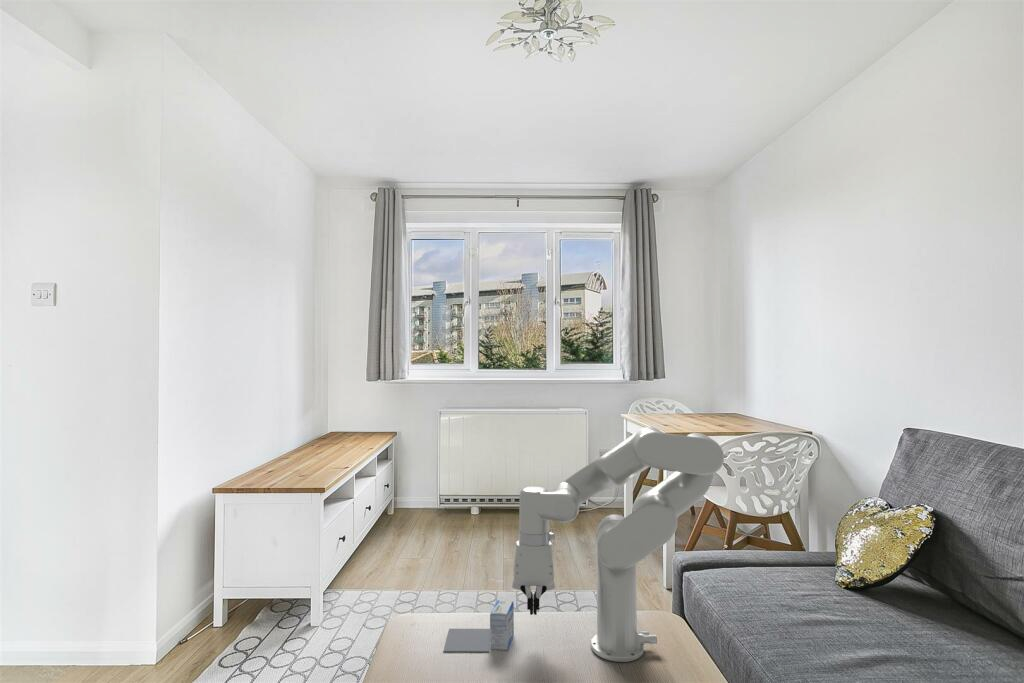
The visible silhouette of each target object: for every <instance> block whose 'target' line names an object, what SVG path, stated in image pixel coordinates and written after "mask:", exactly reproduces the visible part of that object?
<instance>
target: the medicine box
mask: <svg viewBox="0 0 1024 683" xmlns="http://www.w3.org/2000/svg"><path fill="white" fill-rule="evenodd" d="M514 611H515V610H514V601H513V600H508V599H507V600H506V599H498V600H496V603H495V604H494V606H493V607H492V610H491V611H490V614H489V629H490V649H492V650H499V651H508V650H509V647H510V645H511V643H512V639H513V638H514V634H515V633H514V632H515V621H514V620H515V618H514V615H515V614H514V613H515V612H514Z"/></svg>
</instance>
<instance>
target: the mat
mask: <svg viewBox="0 0 1024 683" xmlns="http://www.w3.org/2000/svg"><path fill="white" fill-rule="evenodd" d="M490 649H491V648H490V628H448V632H447V635H446V639H445V643H444V647H443V650H442V651H443V652H442V653H490Z"/></svg>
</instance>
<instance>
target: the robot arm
mask: <svg viewBox="0 0 1024 683" xmlns="http://www.w3.org/2000/svg"><path fill="white" fill-rule="evenodd" d="M724 461H725V454H724V451H723V449H722V447H721V445H720V444H719V443H718V442H717V441H716V440H715V439H713V438H711V437H710V436H708V435H706V434H704V433H701V432H692V433H689V434H687V435H681V434H673V433H668V432H663V431H661V430H660V429H659V428H656V427H653V426H645V427H642V428H641V429H638V430H637V431H635V432H634V433H633V434H631V435H630V436H628V437H627V438H626V439H624V440H623V441H621V442H620V443H618V444H617V445H616V446H614V447H612V448H611V449H610V450H608V451H607V452H606V453H604V454H603V455H601V456H600V457H598V458H597V459H595V460H593V461H592V462H591V463H589V464H587V465H586V466H584V467H582V468H581V469H579V470H577V471H576V472H574V473H573V474H572V475H571V476H569V477H567V479H565V480H563V481H562V482H561V483H559V484H558V485H557V486H556V487H554V489H553V491H549V490H548V489H547V488H546V487H543V486H542V487H541V486H526V487H523V488H522V489H521V490H520V492H519V503H518V504H519V509H518V510H519V511H518V512H519V514H518V515H519V519H518V520H519V521H518V524H519V525H518V540H517V541H516V542H515V545H514V554H513V569H512V575H513V580H512V586H511V588H512V589H514V590H518V591H521V592H522V593H523V594H524V595H525V596H526V598H527V602H526V604H527V605H526V606H527V607H526V609H527V610H528V611H529V614H530V616H533V615H534V616H537V614H538V613H537V612H538V611H540V598H541V596H542V595H544V593H546V591H552V590H555V589H556V584H555V564H554V550H553V544H552V541H551V540H555V538H556V536H555V535H556V534H555V532H551V531H550V521H551V522H553V521H554V522H557V523H563V524H564V523H566V524H567V523H570V522H572V521H574V520H575V519H576V518H577V517H578V515H579V512H580V506H581V505H582V504H584V503H586V502H587V501H588V500H589V499H592V498H593V497H594V496H596V495H597V494H599V493H601V492H603V491H605V490H611V489H617V488H621V487H622V486H623V485H625V484H627V483H628V482H629V481H630V482H631V480H633V478H635V477H636V476H638V475H639V474H641V473H642V472H644V471H645V470H647V469H648V468H652V469H657V470H661V471H669V472H672V473H671V474H670V475H669V476H667V477H666V478H665V479H663V480H662V481H660V482H659V483H658V484H656V485H655V486H654V487H652V488H650V489H649V490H648V491H646V492H644V493H642V494H641V495H640V496H639V497H637V498H636V499H635V501H634V503H633V505H632V513H630V514H629V515H627V516H626V517H624V516H623V515H621V514H620V515H619V514H610V515H606V516H605V517H603V518H602V519H601V521H600V522H599V523H598V525H597V528H596V533H595V539H596V540H595V543H596V544H595V545H596V546H595V547H596V628H597V629H596V634H595V635H593V637H592V638H591V639H590V649H591V651H592V652H593V653H594V654H596V655H597V656H598V657H600V658H602V659H603V660H607V661H610V662H617V663H627V662H633V661H636V660H638V659H640V658H641V657H642V656H643V654H644V650H645V649H644V648H645V647H644V646H645V644H649V645H657V644H658V637H657V634H650V631H649V630H642V631H641V630H640V629H638V626H637V624H638V623H637V620H638V619H637V618H638V614H637V613H638V612H637V610H638V608H637V604H638V603H637V598H638V597H637V585H638V584H637V563H639V562H641V561H642V560H644V559H645V558H647V557H648V556H649V555H651V554H653V553H654V552H656V551H657V550H658V549H660V548H662V547H663V546H664V545H665V544H667V543H668V542H669V541H670V540H671V539H672V537H674V535H675V534H676V531H677V529H678V517H680V516H682V514H684V513H685V512H686V511H688V510H689V509H690V508H691V507H693V506H694V505H696V504H697V503H698V502H699V501H700V500H701V499H703V497H705V495H706V494H707V492H708V490H709V489H710V488H711V484H712V481H713V479H714V476H715V473H717V472H718V471H720V469H721V468H722V466H723V464H724ZM531 587H535V591H534V594H533V592H532V591H531V590H532V588H531Z"/></svg>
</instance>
